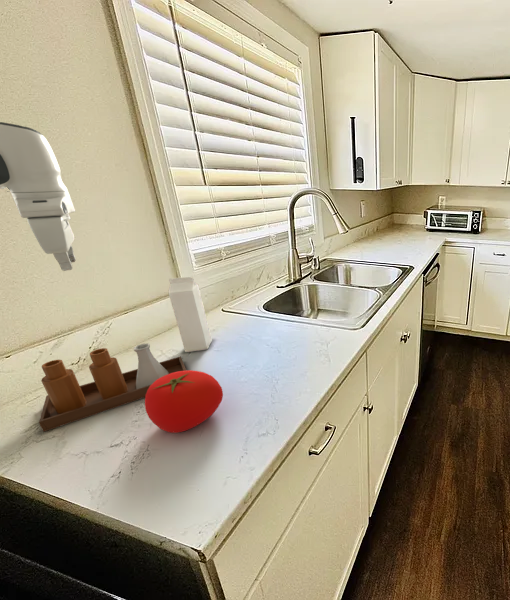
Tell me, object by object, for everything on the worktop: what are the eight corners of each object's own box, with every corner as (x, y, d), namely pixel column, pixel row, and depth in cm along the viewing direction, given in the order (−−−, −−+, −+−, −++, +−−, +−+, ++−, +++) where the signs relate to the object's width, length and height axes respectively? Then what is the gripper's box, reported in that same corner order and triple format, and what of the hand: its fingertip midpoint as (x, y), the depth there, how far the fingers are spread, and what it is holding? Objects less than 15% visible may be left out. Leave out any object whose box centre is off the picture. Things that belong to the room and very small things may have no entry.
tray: (43, 431, 67) (38, 422, 66) (50, 404, 75) (46, 395, 74) (190, 382, 82) (187, 373, 81) (183, 363, 90) (180, 356, 89)
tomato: (181, 400, 75) (168, 358, 71) (237, 404, 74) (226, 361, 70) (135, 441, 64) (116, 393, 60) (200, 447, 63) (185, 398, 58)
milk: (207, 349, 98) (189, 279, 90) (184, 352, 96) (164, 281, 88) (212, 340, 103) (196, 273, 95) (190, 343, 102) (172, 275, 93)
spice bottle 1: (56, 419, 70) (33, 372, 66) (59, 408, 74) (37, 362, 69) (86, 410, 73) (66, 364, 68) (87, 399, 76) (68, 354, 72)
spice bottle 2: (102, 404, 74) (83, 359, 70) (102, 394, 78) (84, 350, 74) (129, 396, 77) (112, 352, 73) (128, 386, 81) (112, 344, 76)
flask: (141, 376, 84) (129, 342, 80) (173, 370, 86) (163, 337, 83) (130, 392, 78) (117, 356, 74) (166, 386, 80) (154, 350, 76)
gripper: (33, 203, 78) (56, 260, 83) (15, 209, 63) (44, 277, 68) (69, 202, 82) (89, 256, 87) (60, 207, 67) (85, 272, 72)
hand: (69, 265), depth 77 cm, fingers open, 8 cm apart
